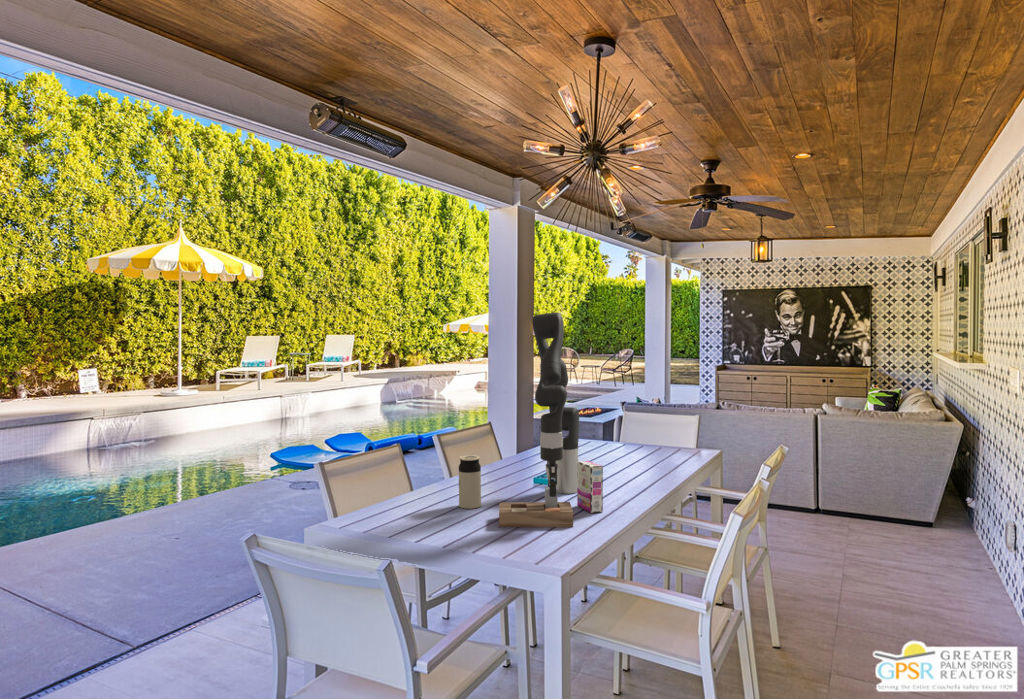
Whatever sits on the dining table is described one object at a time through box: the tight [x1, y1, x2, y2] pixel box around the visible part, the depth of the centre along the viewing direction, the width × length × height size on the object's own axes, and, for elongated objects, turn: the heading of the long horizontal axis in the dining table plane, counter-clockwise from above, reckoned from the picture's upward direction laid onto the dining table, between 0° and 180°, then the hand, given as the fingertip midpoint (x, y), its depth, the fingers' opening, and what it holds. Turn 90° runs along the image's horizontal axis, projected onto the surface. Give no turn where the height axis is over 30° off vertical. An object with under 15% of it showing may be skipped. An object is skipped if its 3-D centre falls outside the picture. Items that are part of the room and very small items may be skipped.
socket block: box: [498, 501, 574, 528], centre depth 219 cm, size 12×24×5 cm, turn 90°
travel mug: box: [458, 454, 482, 510], centre depth 239 cm, size 8×8×18 cm
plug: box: [544, 486, 559, 508], centre depth 220 cm, size 4×4×10 cm
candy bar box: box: [576, 460, 604, 514], centre depth 234 cm, size 11×5×16 cm, turn 21°
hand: (552, 493), depth 220 cm, fingers open, 8 cm apart
